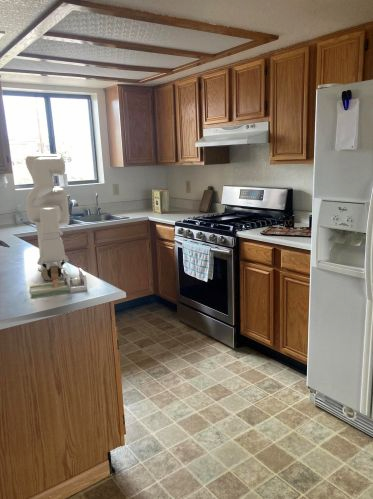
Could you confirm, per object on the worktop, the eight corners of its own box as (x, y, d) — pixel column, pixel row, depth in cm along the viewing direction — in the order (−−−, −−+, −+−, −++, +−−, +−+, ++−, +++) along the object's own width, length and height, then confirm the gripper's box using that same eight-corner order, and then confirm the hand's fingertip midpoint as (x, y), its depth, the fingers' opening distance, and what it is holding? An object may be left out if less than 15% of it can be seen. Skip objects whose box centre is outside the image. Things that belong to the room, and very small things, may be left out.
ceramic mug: (41, 282, 194) (39, 266, 192) (43, 277, 202) (42, 262, 200) (64, 280, 196) (63, 265, 194) (65, 276, 204) (64, 261, 202)
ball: (81, 283, 187) (73, 286, 186) (77, 275, 186) (69, 279, 184) (82, 285, 183) (74, 289, 182) (79, 277, 182) (70, 281, 181)
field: (30, 289, 183) (29, 284, 182) (64, 284, 188) (64, 280, 188) (31, 297, 171) (31, 292, 171) (68, 292, 177) (67, 287, 176)
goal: (64, 284, 189) (62, 267, 187) (81, 282, 192) (80, 265, 190) (68, 293, 176) (66, 275, 175) (87, 290, 179) (85, 272, 178)
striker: (51, 284, 183) (49, 265, 181) (58, 283, 184) (56, 264, 182) (52, 288, 177) (50, 268, 175) (59, 287, 178) (58, 267, 176)
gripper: (69, 233, 182) (72, 272, 186) (30, 236, 176) (34, 277, 180) (71, 235, 175) (75, 276, 179) (31, 239, 169) (35, 281, 173)
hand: (54, 276), depth 180 cm, fingers closed on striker, 3 cm apart
